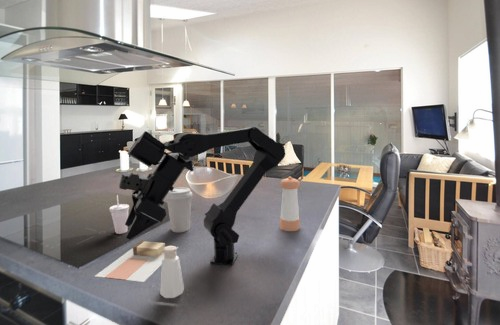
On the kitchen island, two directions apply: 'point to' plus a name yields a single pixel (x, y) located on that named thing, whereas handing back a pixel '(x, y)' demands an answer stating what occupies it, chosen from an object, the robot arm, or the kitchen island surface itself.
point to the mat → (132, 267)
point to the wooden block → (148, 249)
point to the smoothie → (119, 216)
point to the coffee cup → (179, 208)
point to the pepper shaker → (171, 274)
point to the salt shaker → (289, 205)
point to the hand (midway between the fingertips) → (127, 231)
